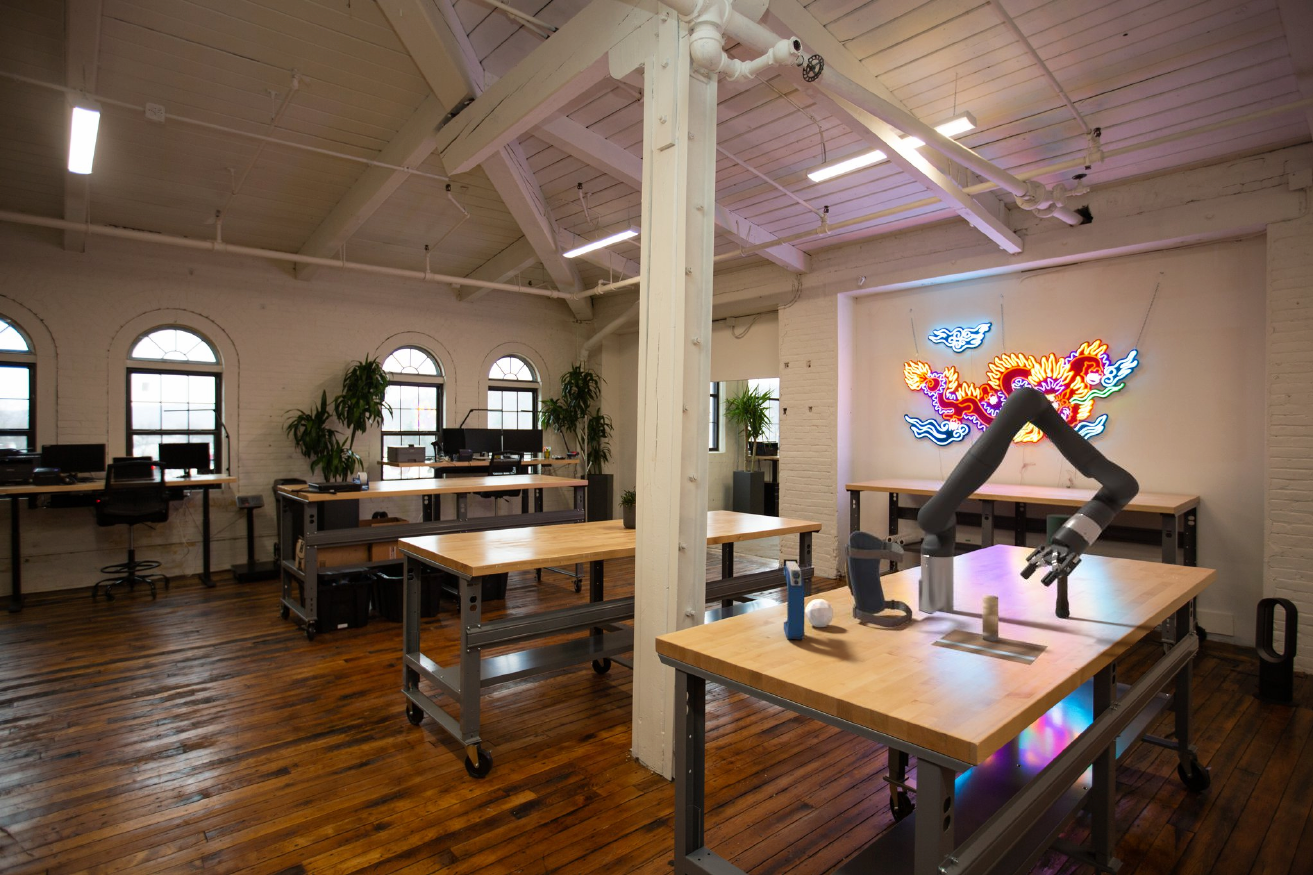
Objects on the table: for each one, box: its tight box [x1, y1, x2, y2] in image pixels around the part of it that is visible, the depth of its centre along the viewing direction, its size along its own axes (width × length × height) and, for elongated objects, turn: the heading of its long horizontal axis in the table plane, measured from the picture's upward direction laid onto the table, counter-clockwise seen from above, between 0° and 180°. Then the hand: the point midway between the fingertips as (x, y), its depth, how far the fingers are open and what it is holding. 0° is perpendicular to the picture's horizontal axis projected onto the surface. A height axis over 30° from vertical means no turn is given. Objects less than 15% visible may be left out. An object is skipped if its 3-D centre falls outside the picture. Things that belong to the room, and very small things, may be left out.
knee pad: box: [843, 530, 913, 629], centre depth 193 cm, size 18×20×25 cm
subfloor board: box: [930, 628, 1048, 666], centre depth 163 cm, size 22×18×2 cm
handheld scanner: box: [782, 558, 805, 640], centre depth 176 cm, size 4×16×19 cm, turn 174°
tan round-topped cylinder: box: [982, 594, 999, 642], centre depth 168 cm, size 4×4×11 cm
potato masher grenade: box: [1044, 513, 1074, 619], centre depth 195 cm, size 8×9×30 cm
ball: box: [804, 598, 835, 628], centre depth 185 cm, size 8×8×8 cm
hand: (1033, 580), depth 168 cm, fingers open, 8 cm apart
